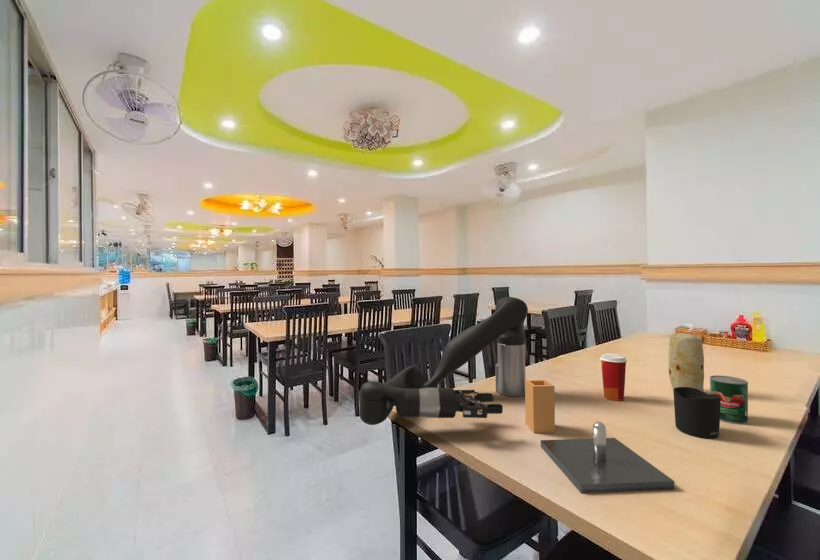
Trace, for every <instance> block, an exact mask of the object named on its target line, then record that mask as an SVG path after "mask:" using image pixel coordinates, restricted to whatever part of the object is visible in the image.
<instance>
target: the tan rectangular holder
mask: <svg viewBox="0 0 820 560" xmlns="http://www.w3.org/2000/svg"><path fill="white" fill-rule="evenodd" d="M524 396H525V398H524V399H525V403H524V404H525V425H526V426H527V428H529V430H530V431H531V432H532V433H533V434H539V433H540V434H541V433H544V434H545V433H556V411H555V409H556V407H555V405H556V403H555V399H556V397H555V385H554V384H552V383H551V382H550V381H548V380H546V379H525V394H524Z"/></svg>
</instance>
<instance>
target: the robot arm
mask: <svg viewBox="0 0 820 560" xmlns="http://www.w3.org/2000/svg"><path fill="white" fill-rule="evenodd" d="M528 309H529V308H528V305H527V304H526V302H525V301H524V300H522V299H520V298H517V297H513V296H505V297H502V298H500V299H499V300H498V301H497V302H496V305H495V309H494V312H493V313H492V314H491V315H490V316H488V317H487V318H485V319H484V320H482V321H481V322H478V323H476V324H474V325H472V326H470V327H468V328H466V329H465V330H462V331H461V332H459V333H458V334H457V335H455V336H454V337H453V338H452V339H450V340H449V341H448V342H447V343H446V345H445V347H444V349H443V351H442V355H441V357H440V358H441V359H440V361H439V363H438V365H437V368H436V370H435V372H434V373H433V375H432V376H431V378H430V379H427V377H426V376H425V374H424V373H423V372H422V369H420V367H419V366H417V365H415V364H411V365H409V366H407V367H405V368H404V369H403V370H401V371H400V372H397V374H395V375H394V376H393V377H391V379H389V380H388V381H385V382H383V383H382V382H378V381H374V380H372V381H370V380H369V381H367V382H365V383H363V384H362V385H361V386H360V390H359V418H360V420H361V421H362V422H363V423H364V424H366V425H370V426H376V425H378V424H381V423H383V422H385V421H386V419H387V418H388V417H389V416H390V414H391V413H392V411H393V408H394V407H395V410H396V413H397V416H399V417H402V418H411V417H412V418H424V419H453V418H455V417H456V413H457V412H460V413H462V417H463V418H466V419H467V418H469V419H471V418H473V419H475V418H476V419H487V418H488V416H489V414H490V415H493V414H495V415H496V414H497V415H498V414H499V415H501V414H502V413H503V409H504V408H503V405H502V404H501V403H491V402H493V400H494V394H493V393H491V392H479V391H476V390H475V389H454V388H453V387H438V385H439V384H440V383H442V382H443V381H444V380H445V379H447V377H449V376H450V375H452V374H453V373H454V372H456V371H457V370H459V369H460V368H461V367H462V366H464V365H465V364H466V363H468V362H469V361H471V360H472V359H474V358H475V357H476V356H477V355H479V353H481V352H482V351H484V350H485V349H486V348H488V346H489V345H491V344H492V343H494V341H495V340H496V341H497V344H496V345H497V363H496V364H495V366H494V367H495V368H494V369H495V374H494V375H495V392H498V393H499V394H501V395H503V396H507V397H522V396H525V380H526V339H525V337H526V336H525V333H524V332H523V328H522V323H523V322H524V321H525V320H526V318H527V316H528V313H529V310H528Z"/></svg>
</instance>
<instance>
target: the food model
mask: <svg viewBox="0 0 820 560" xmlns="http://www.w3.org/2000/svg"><path fill="white" fill-rule="evenodd" d="M667 359H668V361H667V363H668V365H667V366H668V375H669V377H668V378H669V380H670V384H671V388H672V390H673V389H674V388H677V387H691V388H695V389H698V390H700V391H702V392H705V389H704V388H705V387H704V380H705V369H704V368H705V354H704V346H703V338H702V337H700V336H698V335H695V334H694V335H693V334H690V333H684V332H683V333H681V332H678V333H677V332H676V333H672V334H670V335H669V341H668V358H667Z"/></svg>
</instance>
